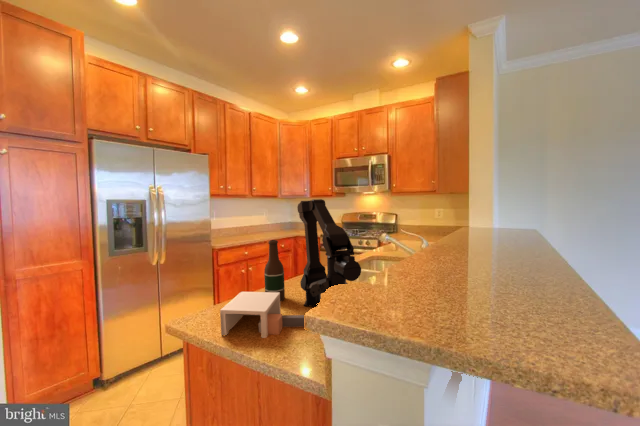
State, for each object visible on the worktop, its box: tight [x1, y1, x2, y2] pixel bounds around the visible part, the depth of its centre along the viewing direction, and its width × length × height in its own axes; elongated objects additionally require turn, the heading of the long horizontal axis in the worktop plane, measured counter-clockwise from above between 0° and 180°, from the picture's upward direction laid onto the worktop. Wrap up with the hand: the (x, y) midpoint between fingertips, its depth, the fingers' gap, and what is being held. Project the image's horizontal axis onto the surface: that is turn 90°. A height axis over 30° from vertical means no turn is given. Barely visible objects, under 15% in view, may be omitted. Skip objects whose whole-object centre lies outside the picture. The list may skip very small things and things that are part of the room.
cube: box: [267, 313, 284, 335], centre depth 89 cm, size 4×4×4 cm
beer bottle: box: [264, 239, 286, 303], centre depth 114 cm, size 8×8×24 cm
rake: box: [258, 314, 305, 333], centre depth 90 cm, size 6×19×3 cm, turn 88°
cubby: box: [219, 291, 282, 339], centre depth 93 cm, size 16×14×8 cm
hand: (337, 320), depth 90 cm, fingers closed
